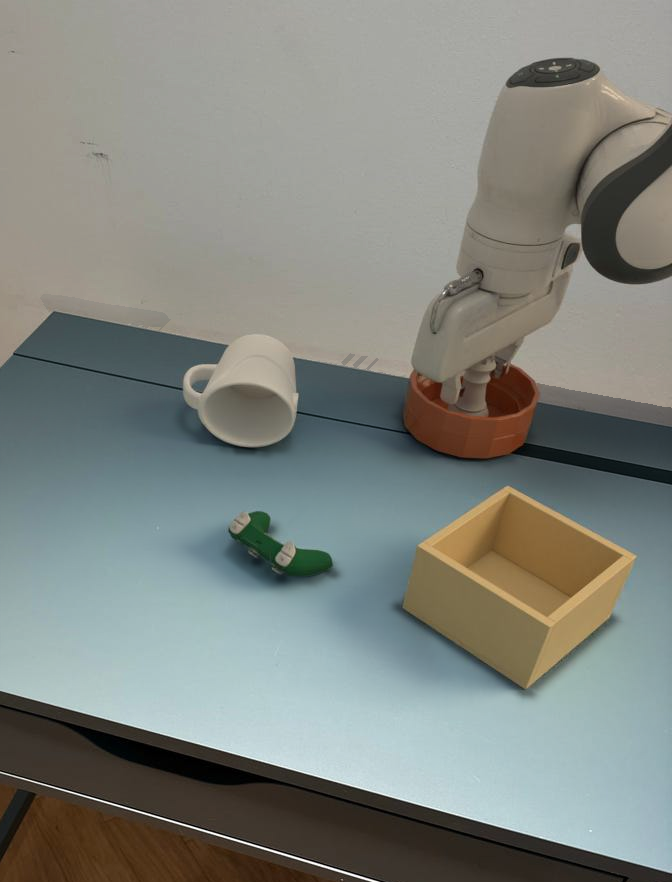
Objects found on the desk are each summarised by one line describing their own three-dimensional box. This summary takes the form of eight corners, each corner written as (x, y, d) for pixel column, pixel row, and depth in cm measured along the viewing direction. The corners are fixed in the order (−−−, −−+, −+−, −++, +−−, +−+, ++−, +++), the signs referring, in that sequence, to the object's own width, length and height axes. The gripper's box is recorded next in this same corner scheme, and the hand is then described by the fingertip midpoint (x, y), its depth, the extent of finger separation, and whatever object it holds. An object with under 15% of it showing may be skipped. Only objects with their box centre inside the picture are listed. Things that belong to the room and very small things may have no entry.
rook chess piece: (476, 409, 108) (494, 342, 102) (492, 432, 104) (511, 364, 99) (437, 412, 107) (453, 344, 101) (452, 436, 104) (469, 367, 98)
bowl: (451, 380, 112) (461, 340, 109) (550, 430, 106) (563, 388, 102) (377, 422, 106) (385, 380, 103) (477, 477, 100) (489, 434, 96)
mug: (298, 405, 108) (306, 338, 102) (290, 454, 101) (298, 385, 96) (189, 393, 109) (191, 326, 104) (175, 441, 103) (176, 372, 97)
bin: (488, 546, 92) (507, 484, 87) (609, 618, 85) (637, 555, 80) (402, 608, 86) (417, 545, 81) (525, 689, 79) (550, 627, 74)
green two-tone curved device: (243, 546, 94) (212, 530, 89) (265, 511, 93) (235, 494, 88) (315, 596, 89) (287, 582, 84) (339, 560, 88) (312, 544, 83)
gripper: (467, 301, 86) (436, 437, 96) (595, 238, 96) (554, 366, 106) (410, 276, 89) (385, 410, 99) (539, 217, 99) (505, 344, 109)
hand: (473, 387), depth 103 cm, fingers open, 6 cm apart
